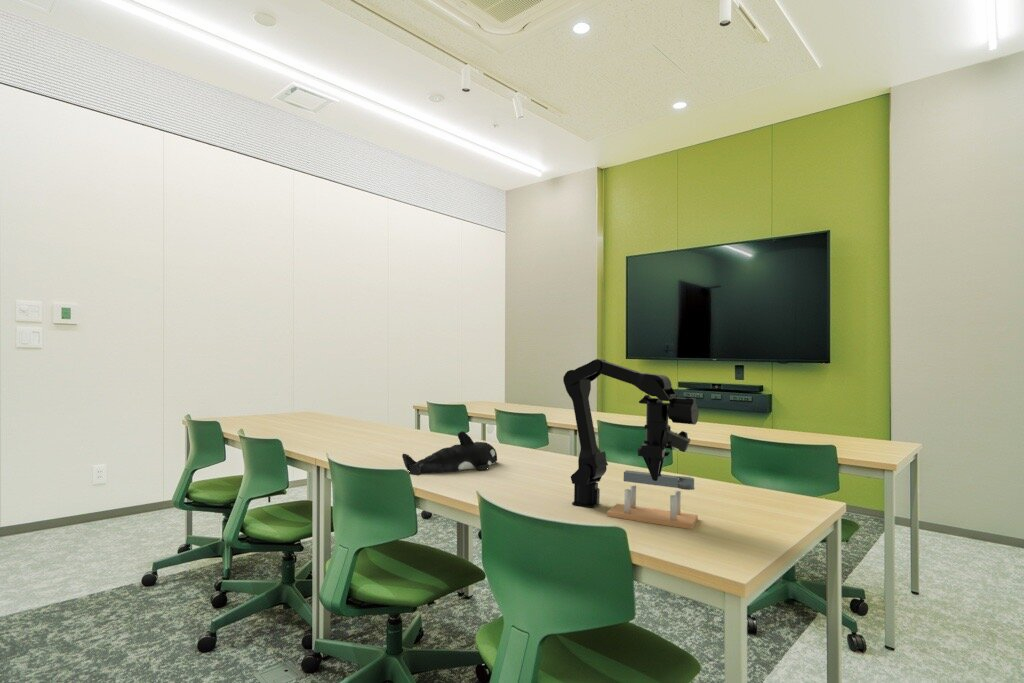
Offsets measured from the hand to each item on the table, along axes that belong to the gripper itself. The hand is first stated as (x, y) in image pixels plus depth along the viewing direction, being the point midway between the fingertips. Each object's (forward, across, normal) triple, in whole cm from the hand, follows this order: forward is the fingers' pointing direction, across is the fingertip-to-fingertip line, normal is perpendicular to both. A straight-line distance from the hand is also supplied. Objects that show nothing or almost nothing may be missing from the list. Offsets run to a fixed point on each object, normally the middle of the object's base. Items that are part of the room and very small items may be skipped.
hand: (656, 479), depth 142 cm
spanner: (+1, 0, -1) cm, 1 cm away
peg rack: (+10, 0, +1) cm, 10 cm away
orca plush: (+11, +30, +83) cm, 89 cm away
